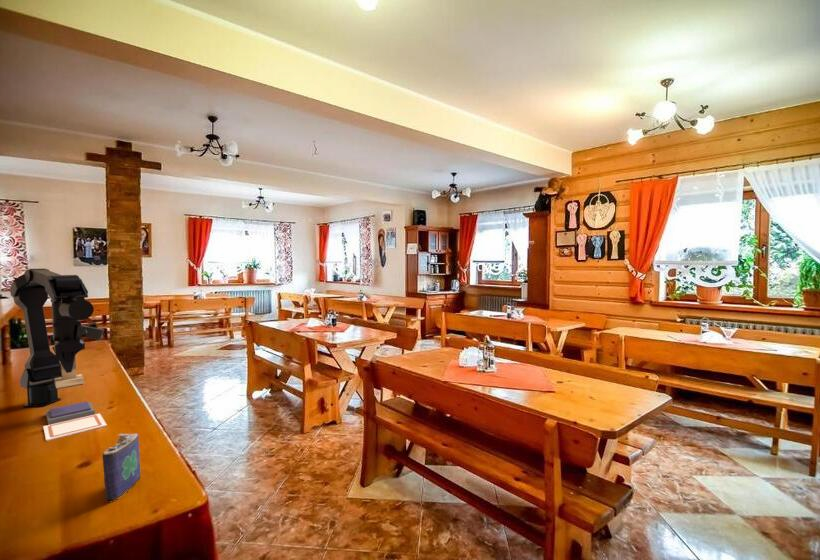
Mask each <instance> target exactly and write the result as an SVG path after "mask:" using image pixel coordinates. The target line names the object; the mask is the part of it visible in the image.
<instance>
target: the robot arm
mask: <svg viewBox="0 0 820 560" xmlns="http://www.w3.org/2000/svg"><path fill="white" fill-rule="evenodd" d="M9 292H10V296H11V297H12V298H13V303H14V305H16V306H18V307H19V308H20V309H21V310H22V312H23V318H24V324H25V329H26V330H25V331H26V337H27V342H28V343H27V344H28V348H29V354H30V355H29V357H28V358H27V360H26V361H25V364H24V369H23V372H22V374H21V377H20V379H19V383H20V387H21V388H24V389H25V390H26V393H27V396H26V397H27V403H26V404H23V405H22V407H23V408H27V407H28V408H31V407H34V408H35V407H45V406H48V405H50V404H53V403H55V402H58V401H61V400H62V398H61V397H59V392H58V390H59V389H57V388H56V386H55V379H54V378H60V377H62V371H61V364H62V366H63V367H64V369H65V371H66V372H67V373H69V372H72V368H73V364H74V360H75V358H76V355H77V354H78V353H79V352H81V351H82V350H86V344H85V341H84V340H83V338H89V339H94V340H95V341H101V340H102V338H103V334H104V332H105V329H103V328H101V327H98V324H96V323H93V322H90V323H88V324H87V325H83V324H82V321H84V320H87V319H89V318H90V317H92V315H93V313H94V311H95V310H94V305H93V304H92V303H91V302H90V301H89V300H86V298H89V295H88V293H89V291H88V289H87V287H86V285H85V283H84V282H83V279H82V278H80V277H79V275H77V274H59V273H57V272H55V271H54V272H53V271H51V270H50V269H48V268H29V269H26V270H25V272H24V273H23V274H21V275H20V276H18V277H16V278H14V279H13V281H12V283H11V285H10V288H9ZM49 298H50V302H51V314H52V315H51V318H52V322H51V326H52V336H50V338H49V335H48V329H47V323H46V317H45V311H44V306H45V304H46V302H47V300H48V299H49ZM49 339H50V340H49ZM49 341H50V342H49ZM51 346H52V348H50V347H51ZM51 349H52V350H53V351H54V352H53V351H51Z"/></svg>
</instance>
